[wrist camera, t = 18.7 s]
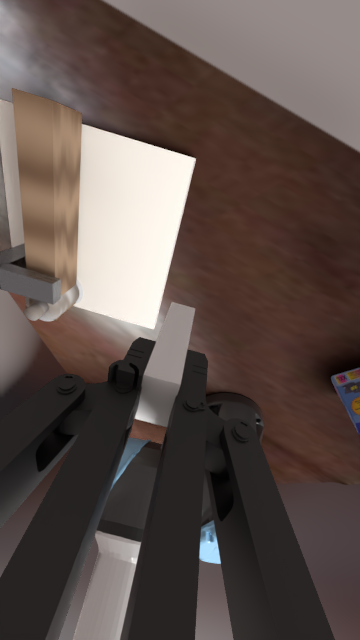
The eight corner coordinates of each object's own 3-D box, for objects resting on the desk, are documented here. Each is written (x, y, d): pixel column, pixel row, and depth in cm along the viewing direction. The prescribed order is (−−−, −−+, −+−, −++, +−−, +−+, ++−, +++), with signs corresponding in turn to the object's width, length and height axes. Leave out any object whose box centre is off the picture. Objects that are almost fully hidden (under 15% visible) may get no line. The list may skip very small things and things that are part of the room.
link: (78, 307, 43) (49, 334, 35) (49, 298, 43) (14, 324, 35) (87, 114, 29) (42, 95, 22) (44, 101, 29) (-16, 77, 21)
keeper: (91, 275, 41) (53, 304, 32) (33, 257, 41) (-22, 282, 32) (92, 258, 40) (52, 284, 31) (32, 240, 40) (-26, 261, 30)
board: (155, 325, 45) (153, 330, 43) (22, 285, 45) (15, 289, 43) (196, 158, 31) (194, 158, 30) (4, 100, 31) (-7, 97, 29)
